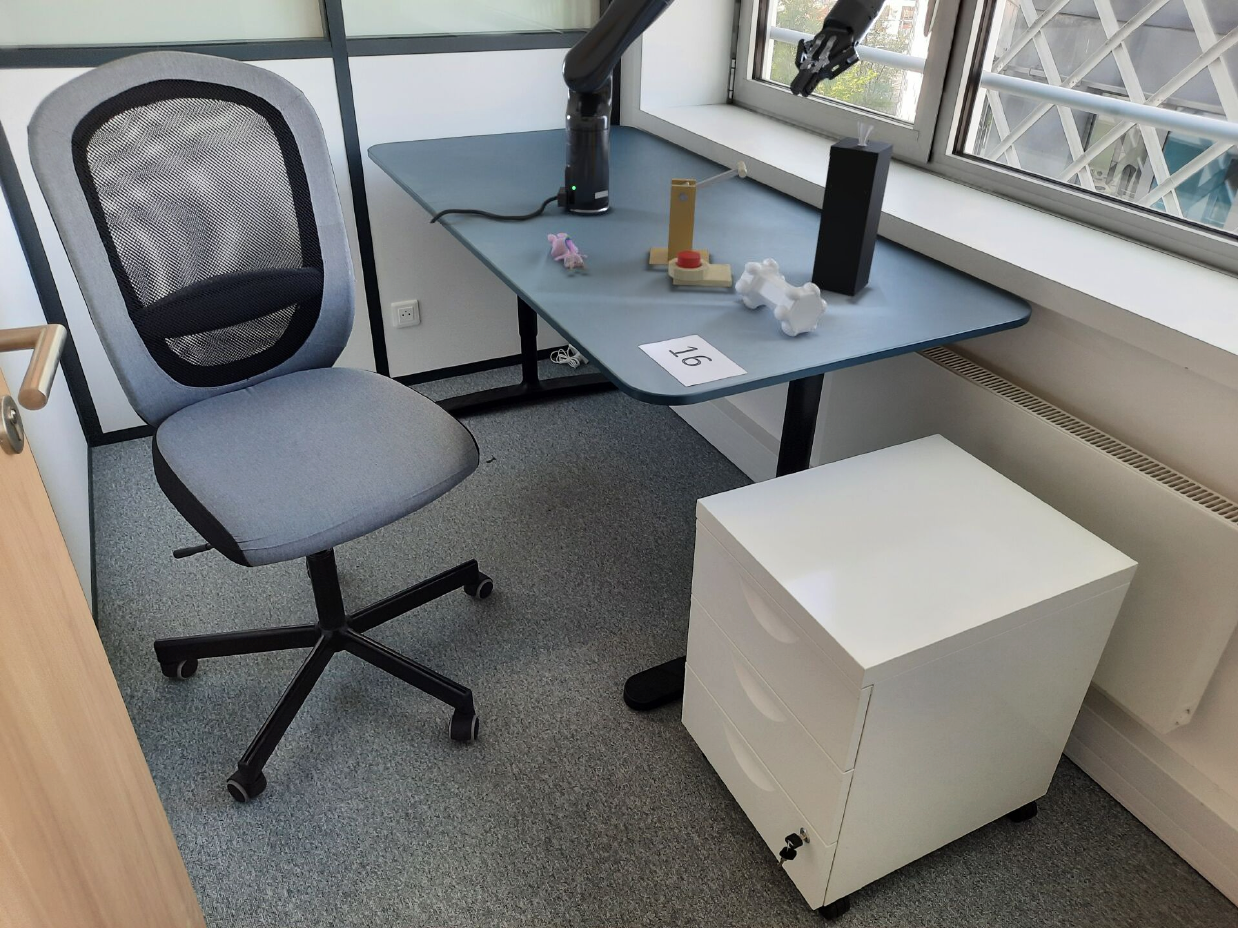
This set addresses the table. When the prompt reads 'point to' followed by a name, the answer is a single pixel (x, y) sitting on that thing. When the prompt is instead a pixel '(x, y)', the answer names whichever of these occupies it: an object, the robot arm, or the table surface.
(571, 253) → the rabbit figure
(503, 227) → the table surface
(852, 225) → the tissue box
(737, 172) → the tap lever
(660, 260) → the bracket
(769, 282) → the dog bone
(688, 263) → the button
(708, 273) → the button box
